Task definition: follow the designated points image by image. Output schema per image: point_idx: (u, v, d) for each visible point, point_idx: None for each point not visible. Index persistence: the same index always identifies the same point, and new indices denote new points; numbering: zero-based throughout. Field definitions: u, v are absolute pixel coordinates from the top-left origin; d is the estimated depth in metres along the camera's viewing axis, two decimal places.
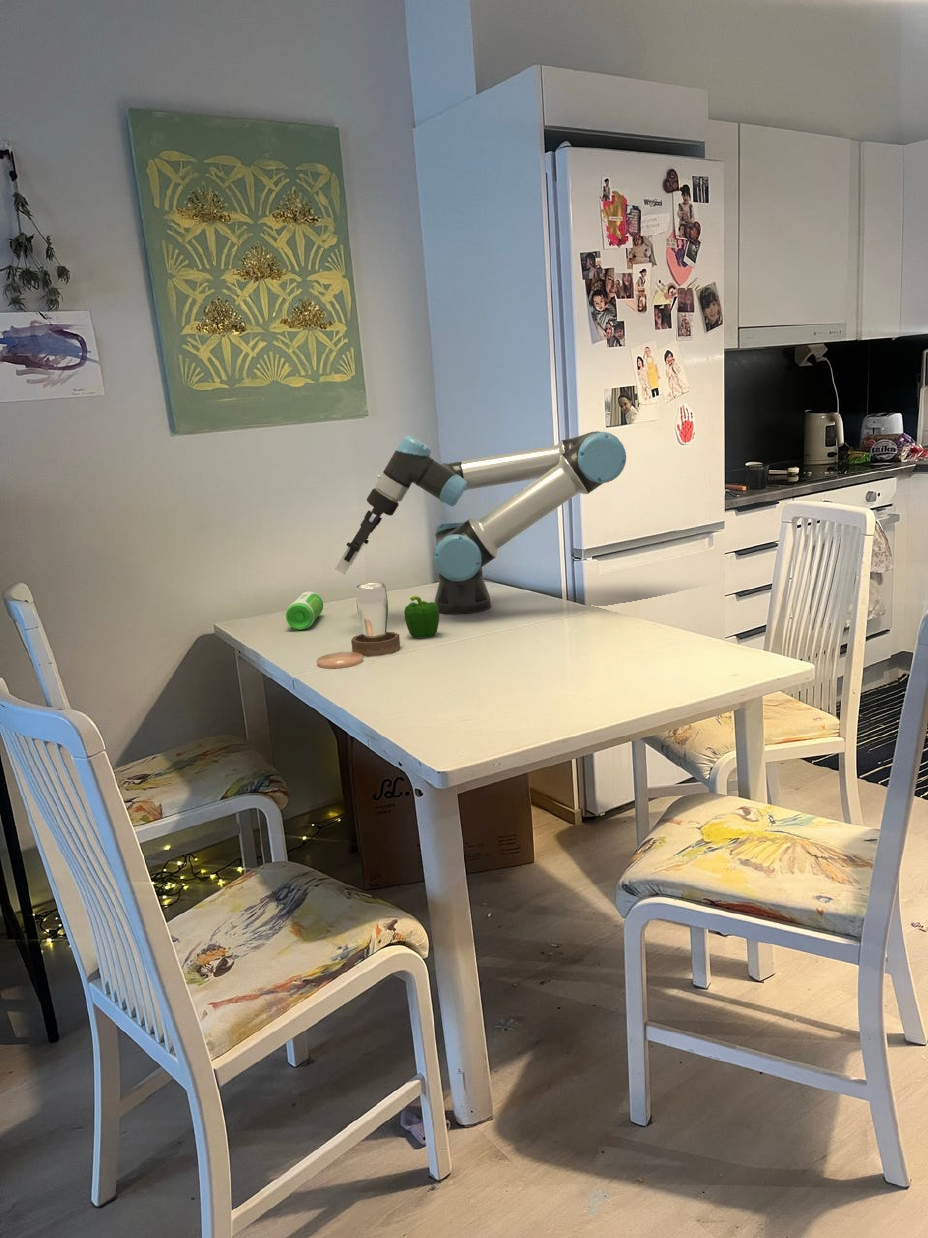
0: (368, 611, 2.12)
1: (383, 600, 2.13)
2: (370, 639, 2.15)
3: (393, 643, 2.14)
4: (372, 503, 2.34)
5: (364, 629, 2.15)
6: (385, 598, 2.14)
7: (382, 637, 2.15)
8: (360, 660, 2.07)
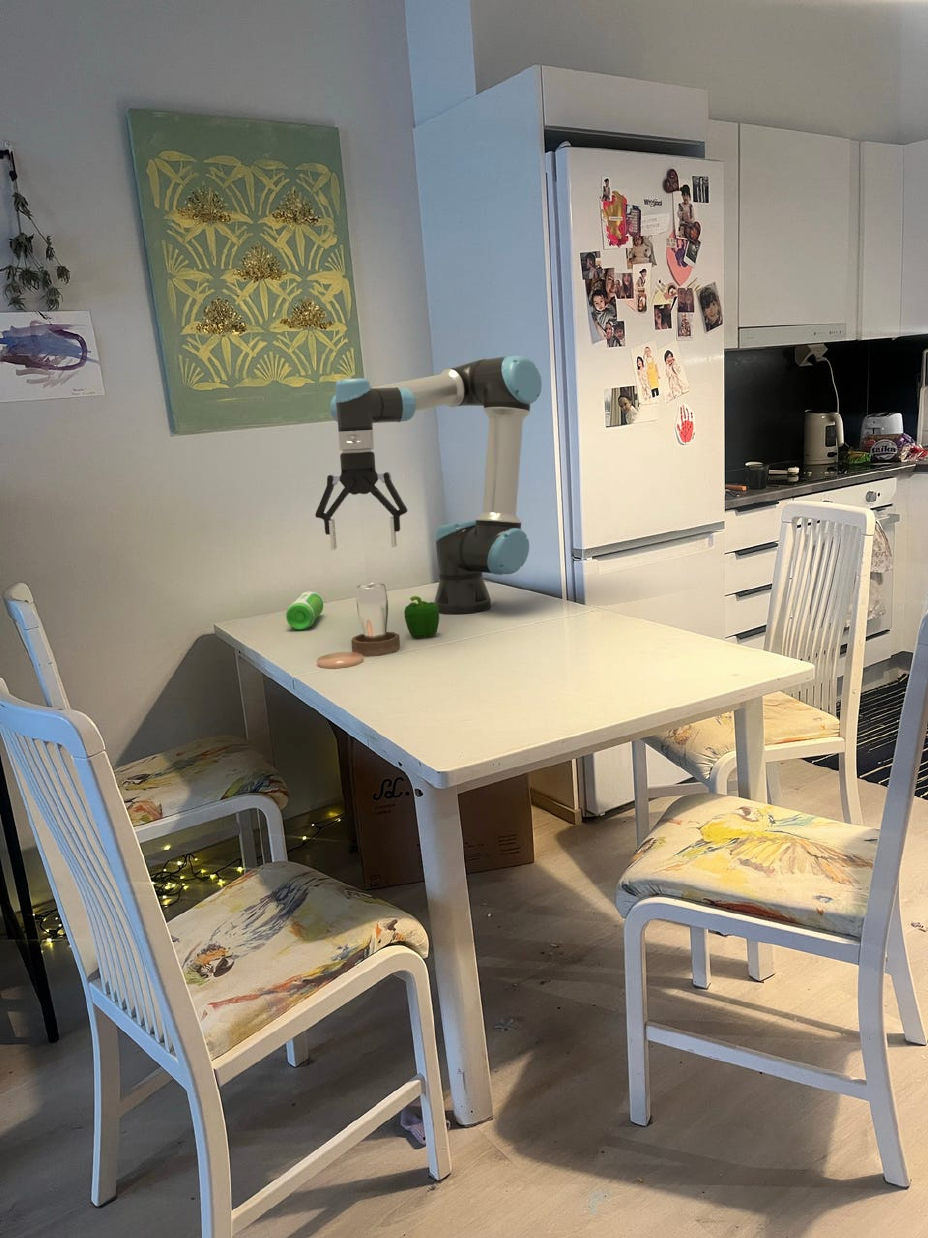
0: (368, 611, 2.12)
1: (383, 600, 2.13)
2: (370, 639, 2.15)
3: (393, 643, 2.14)
4: (371, 466, 2.08)
5: (364, 629, 2.15)
6: (385, 598, 2.14)
7: (382, 637, 2.15)
8: (360, 660, 2.07)
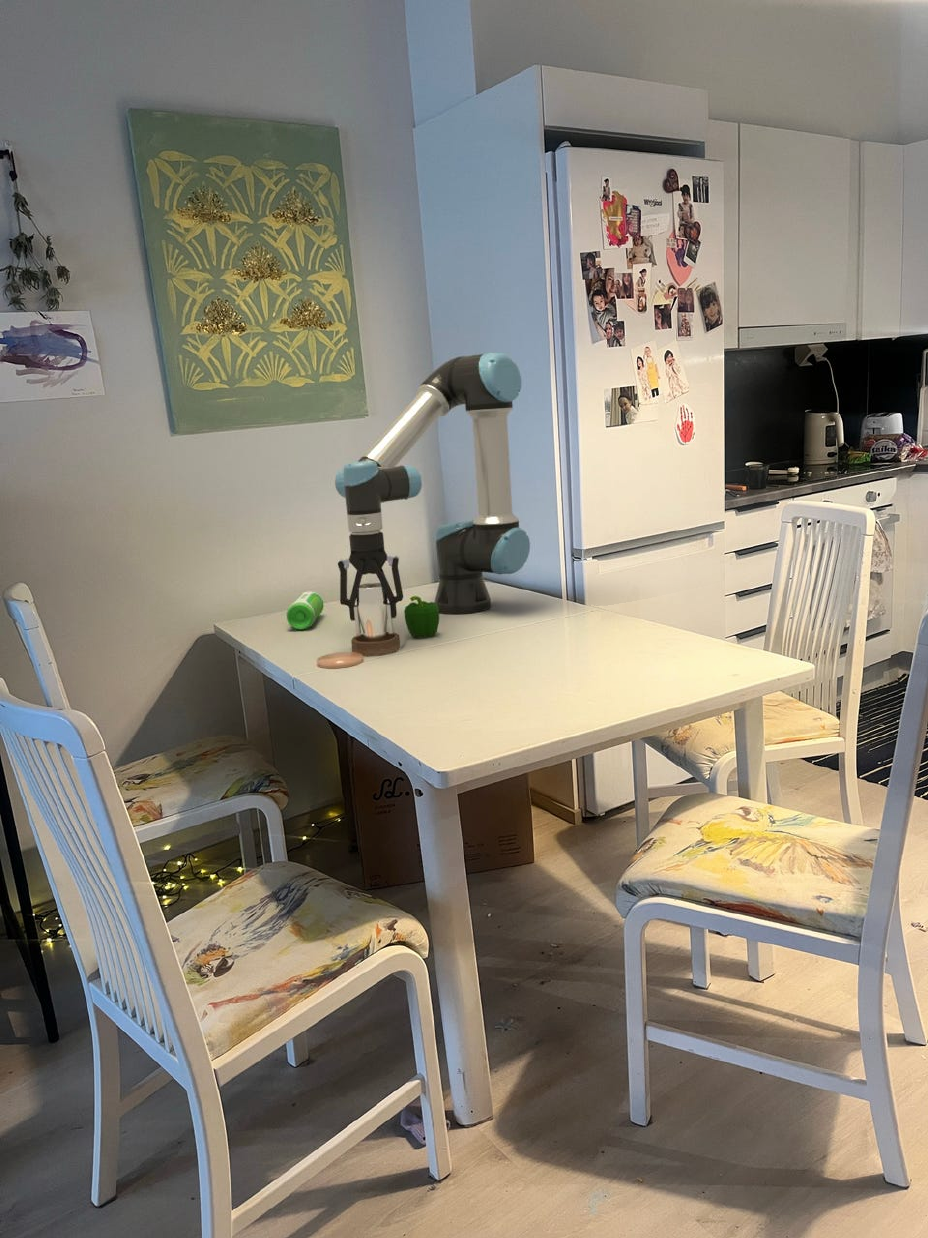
0: (368, 611, 2.12)
1: (383, 600, 2.13)
2: (370, 639, 2.15)
3: (393, 643, 2.14)
4: (380, 547, 2.11)
5: (364, 629, 2.15)
6: (385, 598, 2.14)
7: (382, 637, 2.15)
8: (360, 660, 2.07)
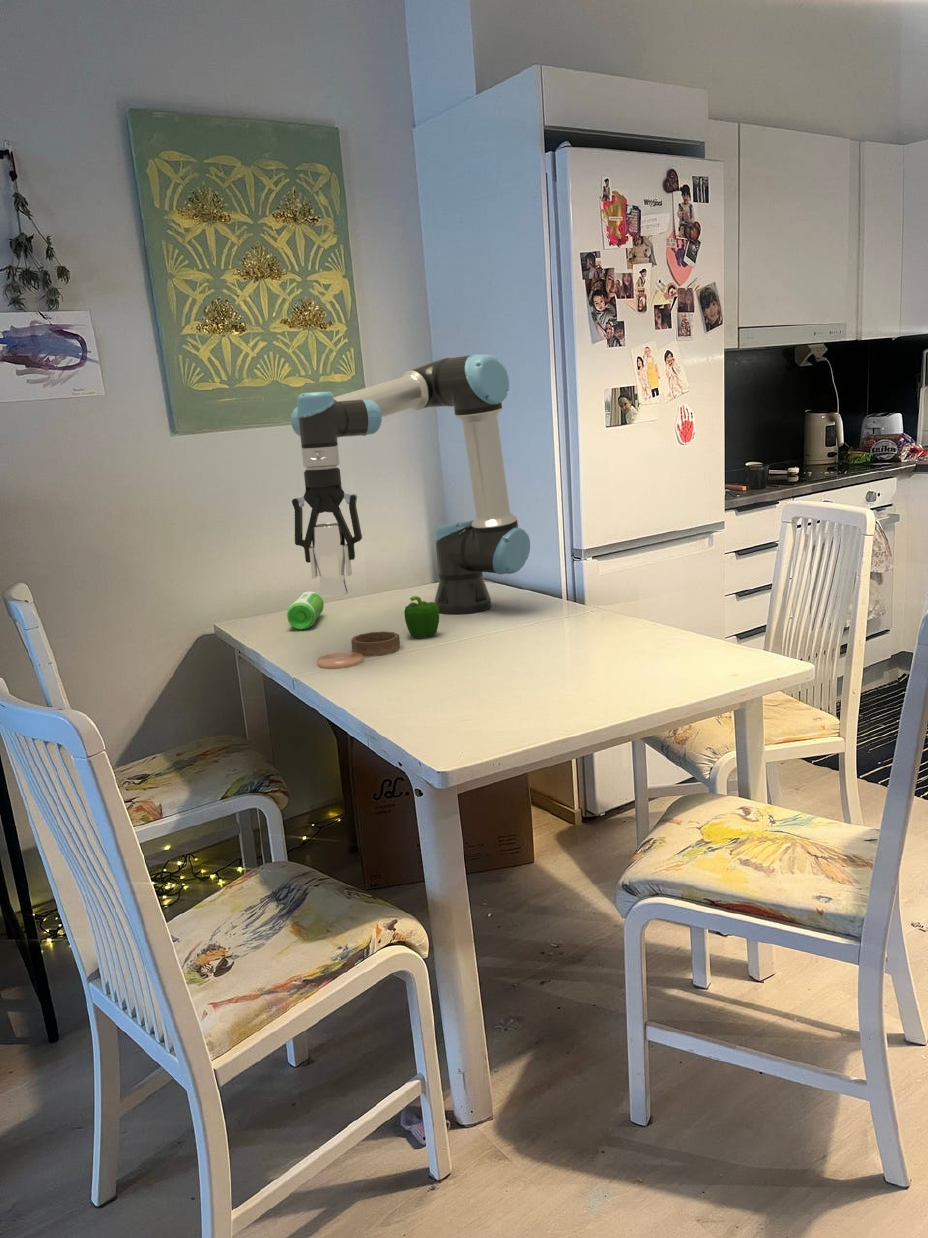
0: (324, 551, 2.01)
1: (340, 540, 2.02)
2: (326, 582, 2.03)
3: (393, 643, 2.14)
4: (337, 483, 1.99)
5: (320, 571, 2.03)
6: (342, 538, 2.02)
7: (339, 580, 2.03)
8: (360, 660, 2.07)
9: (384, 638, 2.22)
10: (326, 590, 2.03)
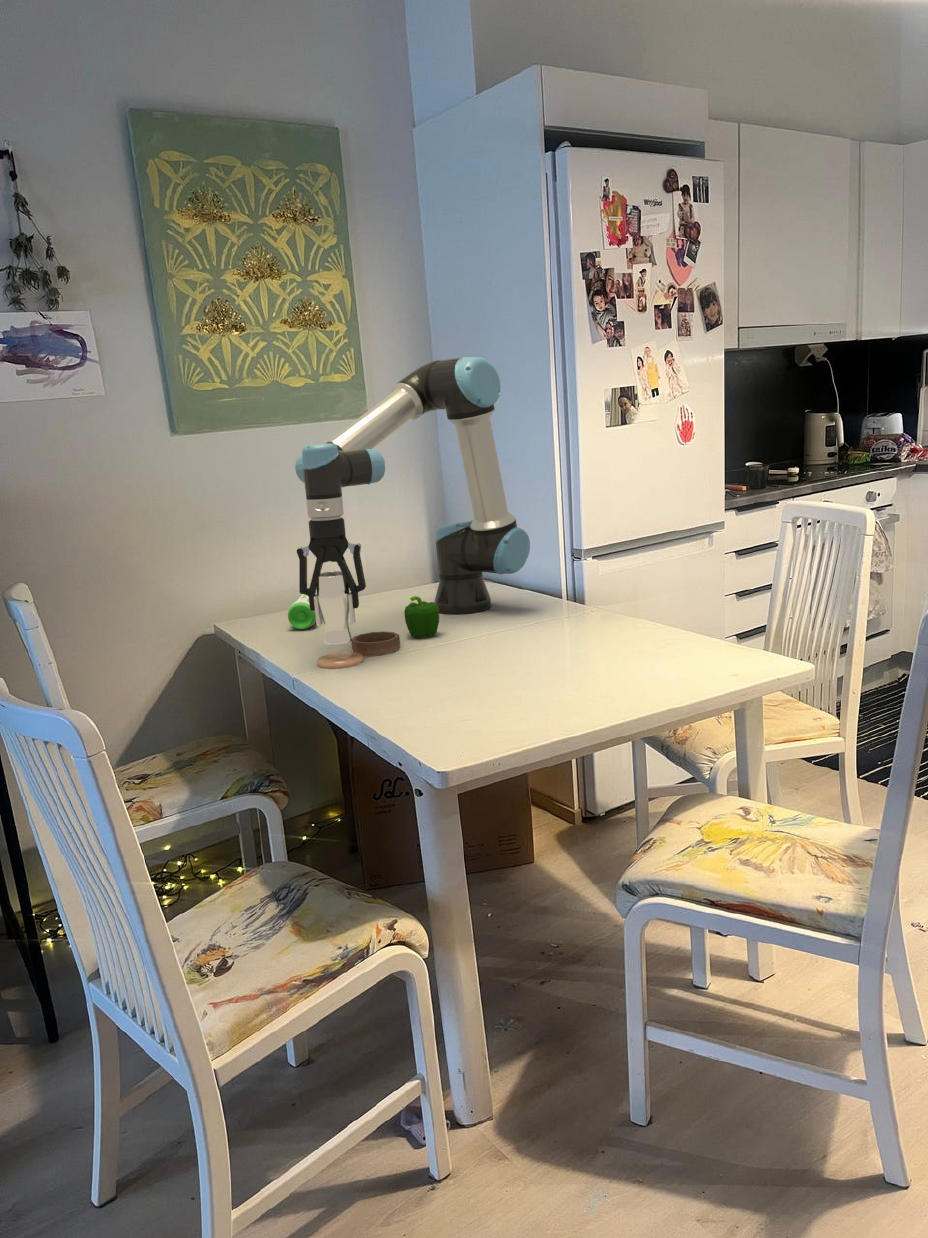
0: (328, 600, 2.03)
1: (344, 589, 2.04)
2: (331, 630, 2.05)
3: (393, 643, 2.14)
4: (341, 533, 2.01)
5: (324, 619, 2.05)
6: (346, 587, 2.04)
7: (343, 628, 2.06)
8: (360, 660, 2.07)
9: (384, 638, 2.22)
10: (330, 638, 2.05)
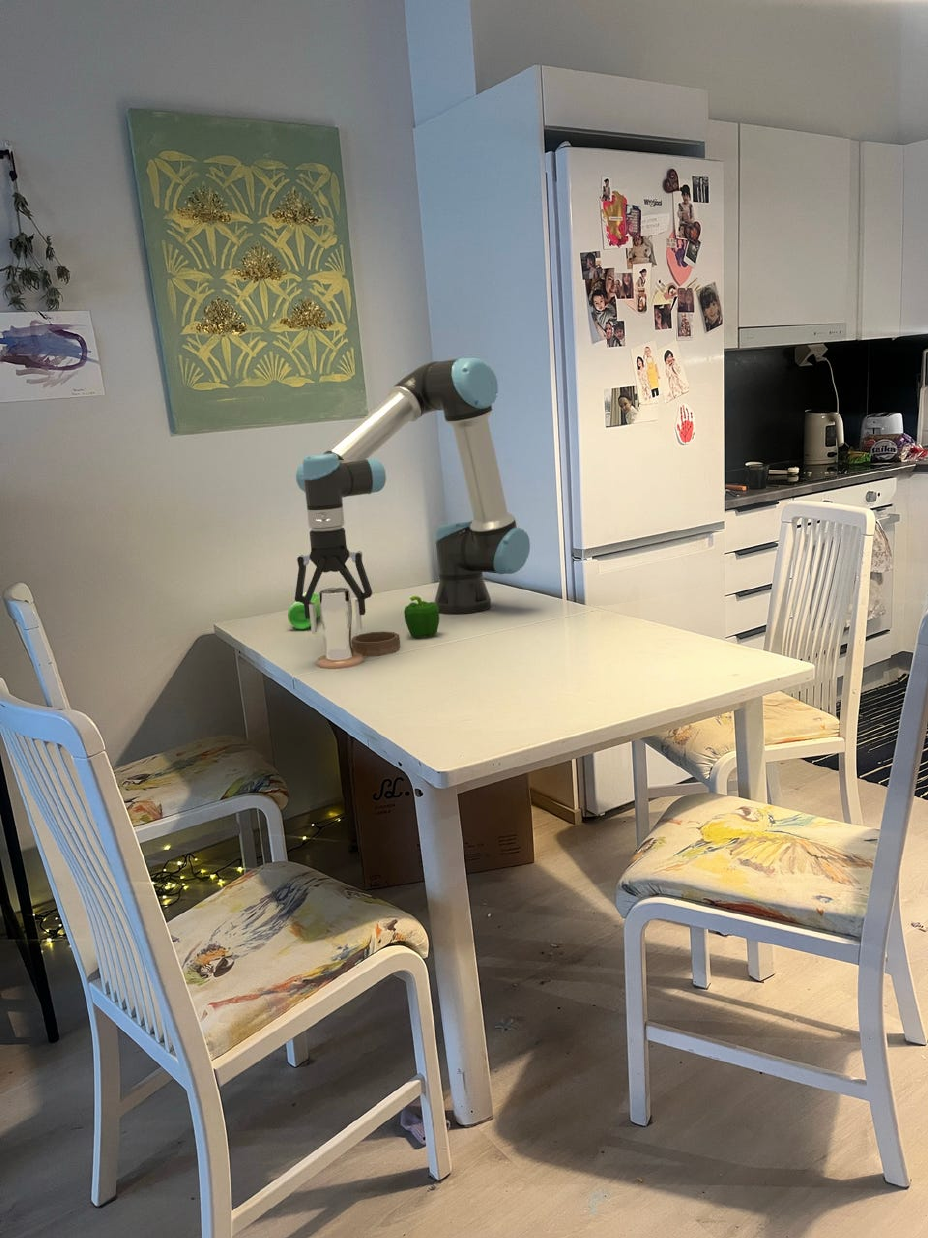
0: (331, 617, 2.04)
1: (347, 606, 2.05)
2: (333, 647, 2.06)
3: (393, 643, 2.14)
4: (342, 543, 2.02)
5: (327, 636, 2.06)
6: (349, 604, 2.05)
7: (345, 644, 2.06)
8: (360, 660, 2.07)
9: (384, 638, 2.22)
10: (332, 654, 2.06)
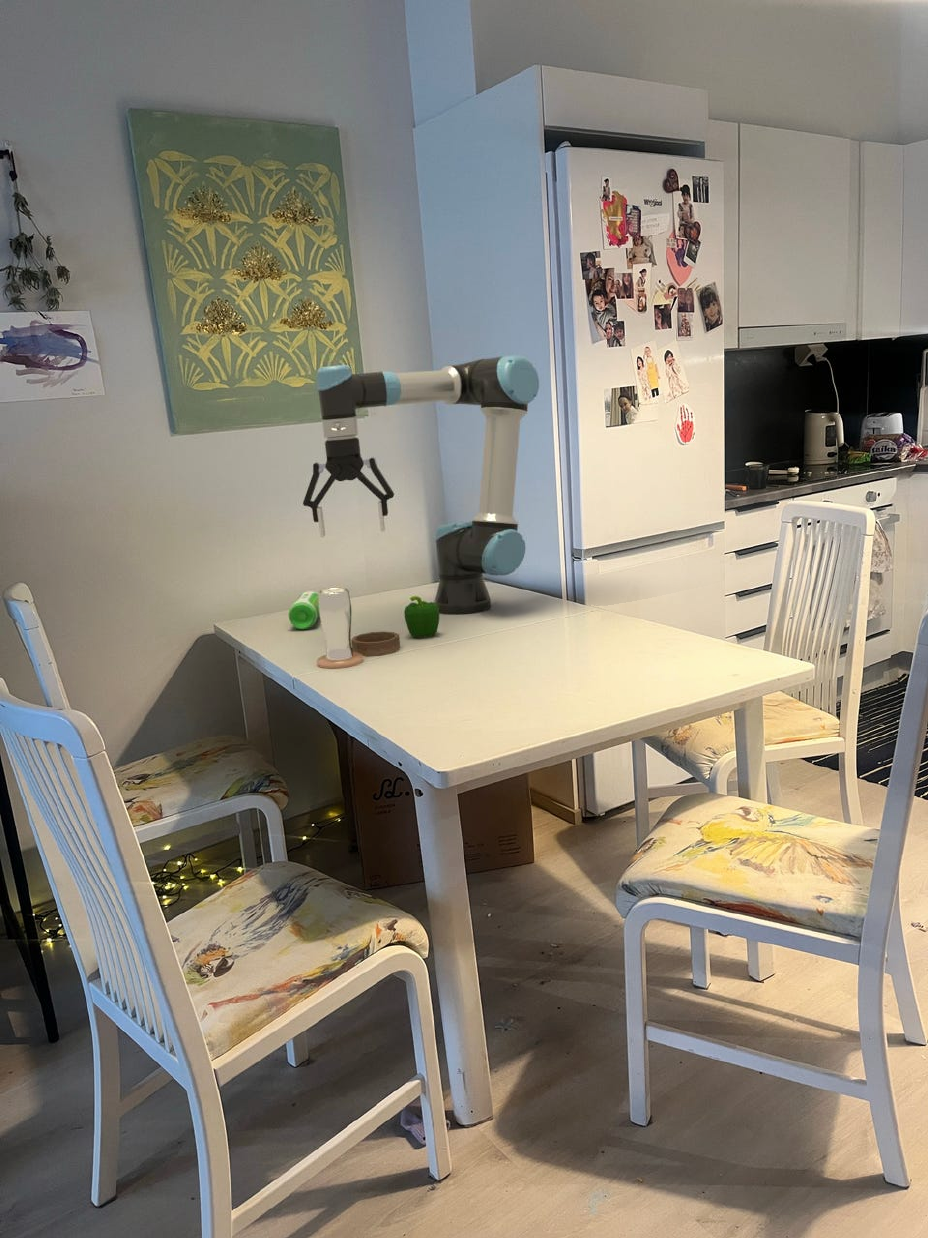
0: (330, 617, 2.04)
1: (346, 606, 2.05)
2: (333, 647, 2.06)
3: (393, 643, 2.14)
4: (356, 452, 2.10)
5: (326, 636, 2.06)
6: (348, 604, 2.05)
7: (345, 644, 2.06)
8: (360, 660, 2.07)
9: (384, 638, 2.22)
10: (332, 655, 2.06)
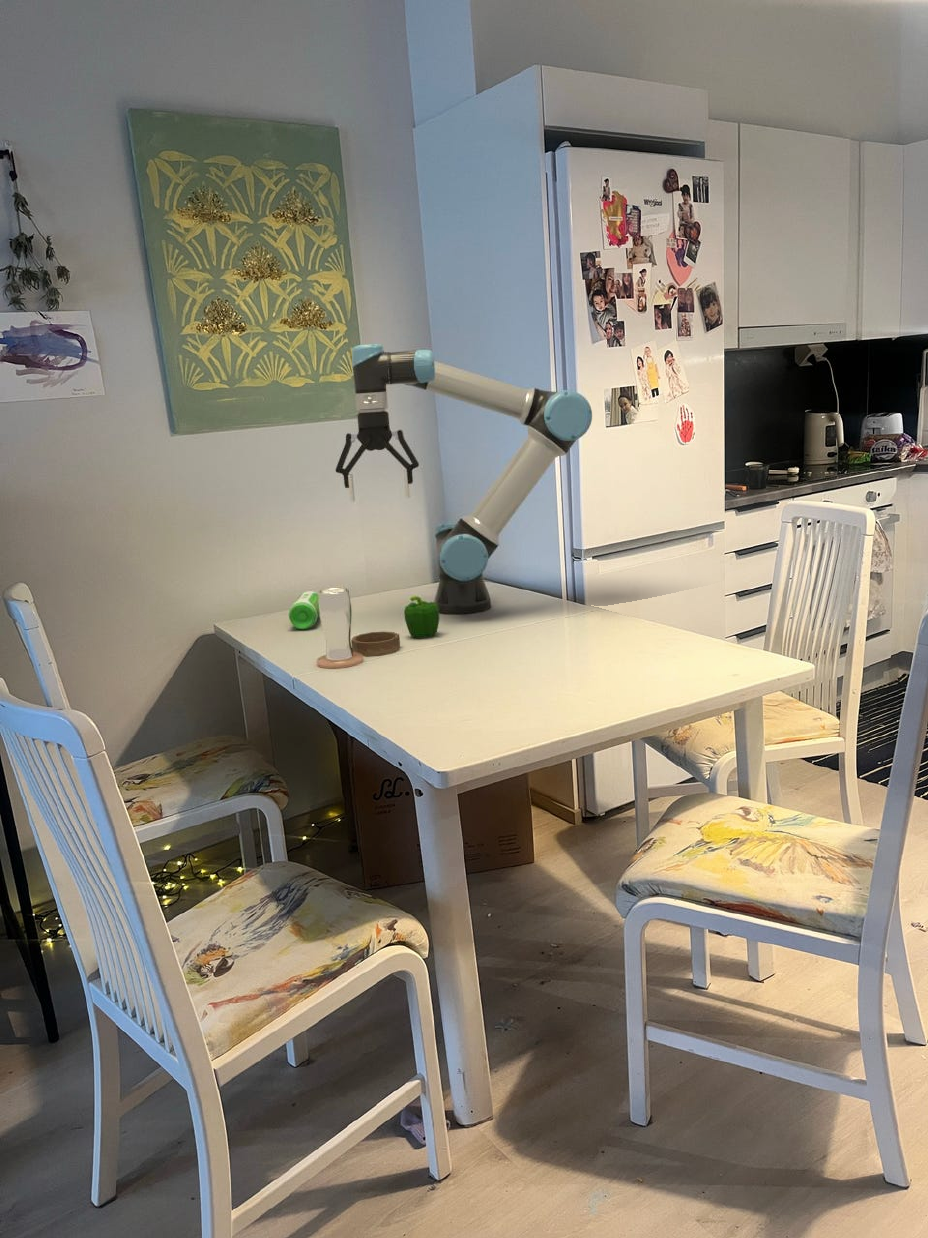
0: (330, 617, 2.04)
1: (346, 606, 2.05)
2: (333, 647, 2.06)
3: (393, 643, 2.14)
4: (386, 424, 2.29)
5: (326, 636, 2.06)
6: (348, 604, 2.05)
7: (345, 644, 2.07)
8: (360, 660, 2.07)
9: (384, 638, 2.22)
10: (332, 655, 2.06)
